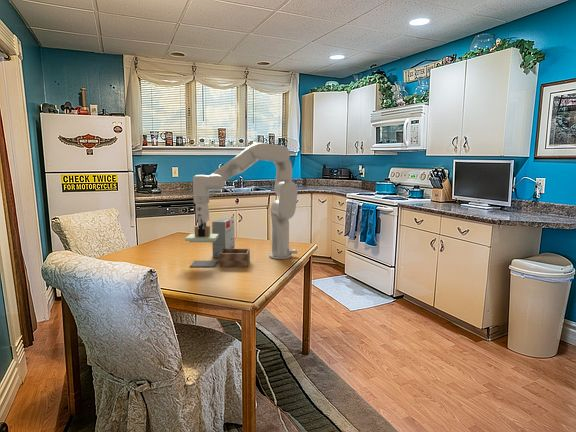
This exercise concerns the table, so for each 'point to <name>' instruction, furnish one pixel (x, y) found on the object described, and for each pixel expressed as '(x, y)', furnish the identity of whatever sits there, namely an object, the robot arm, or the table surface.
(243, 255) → the crate
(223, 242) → the hard drive box
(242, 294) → the table surface
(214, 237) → the lid
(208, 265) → the mat
